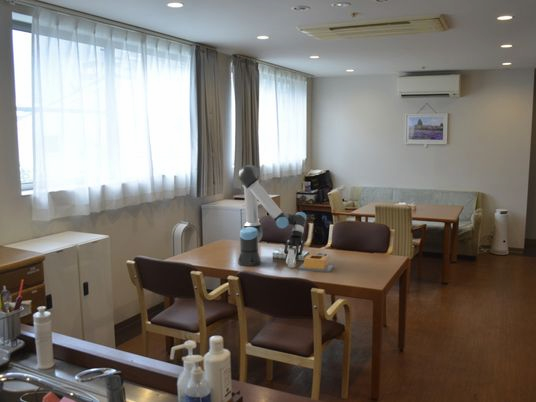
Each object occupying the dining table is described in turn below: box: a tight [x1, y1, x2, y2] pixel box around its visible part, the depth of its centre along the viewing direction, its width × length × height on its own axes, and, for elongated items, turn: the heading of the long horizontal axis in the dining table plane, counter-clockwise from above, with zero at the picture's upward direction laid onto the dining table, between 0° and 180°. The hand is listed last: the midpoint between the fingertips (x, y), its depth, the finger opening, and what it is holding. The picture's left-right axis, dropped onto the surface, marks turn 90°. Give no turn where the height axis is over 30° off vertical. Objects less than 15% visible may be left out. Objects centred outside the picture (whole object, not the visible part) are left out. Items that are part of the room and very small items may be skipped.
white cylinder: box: [287, 247, 297, 269], centre depth 325 cm, size 4×4×12 cm
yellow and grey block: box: [297, 254, 335, 273], centre depth 320 cm, size 20×12×8 cm, turn 71°
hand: (290, 263), depth 322 cm, fingers closed on white cylinder, 4 cm apart
